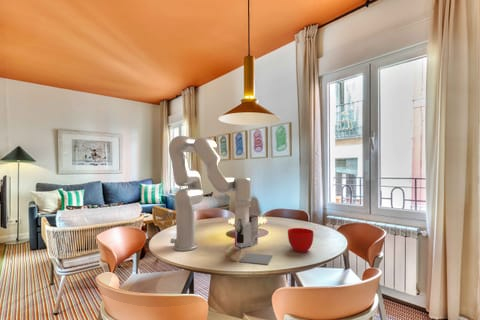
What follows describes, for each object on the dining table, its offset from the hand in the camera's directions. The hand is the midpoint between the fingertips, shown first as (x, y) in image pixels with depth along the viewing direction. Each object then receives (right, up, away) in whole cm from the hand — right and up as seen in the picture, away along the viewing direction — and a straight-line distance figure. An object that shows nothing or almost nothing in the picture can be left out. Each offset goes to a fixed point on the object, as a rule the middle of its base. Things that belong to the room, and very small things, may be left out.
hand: (242, 240), depth 123 cm
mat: (+7, -8, -2) cm, 11 cm away
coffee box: (+4, -9, +23) cm, 25 cm away
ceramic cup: (+30, -9, +12) cm, 33 cm away
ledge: (-4, -8, +1) cm, 9 cm away
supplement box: (0, -3, 0) cm, 3 cm away
